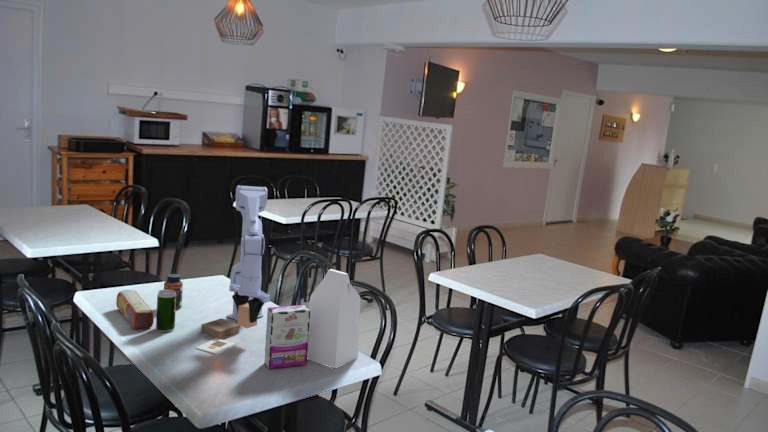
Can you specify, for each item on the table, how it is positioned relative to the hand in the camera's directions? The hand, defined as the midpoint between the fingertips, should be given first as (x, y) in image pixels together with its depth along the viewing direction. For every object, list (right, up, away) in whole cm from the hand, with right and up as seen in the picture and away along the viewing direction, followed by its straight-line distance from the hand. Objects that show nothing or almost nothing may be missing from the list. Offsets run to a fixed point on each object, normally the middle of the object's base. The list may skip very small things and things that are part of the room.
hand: (247, 319), depth 180 cm
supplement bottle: (-31, 0, +24) cm, 39 cm away
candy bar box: (+13, -11, -10) cm, 20 cm away
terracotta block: (0, -2, 0) cm, 2 cm away
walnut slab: (-10, -6, +7) cm, 13 cm away
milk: (+25, -11, -2) cm, 27 cm away
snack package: (-38, -2, +11) cm, 40 cm away
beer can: (-26, -4, +5) cm, 27 cm away
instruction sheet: (-8, -7, -3) cm, 12 cm away
